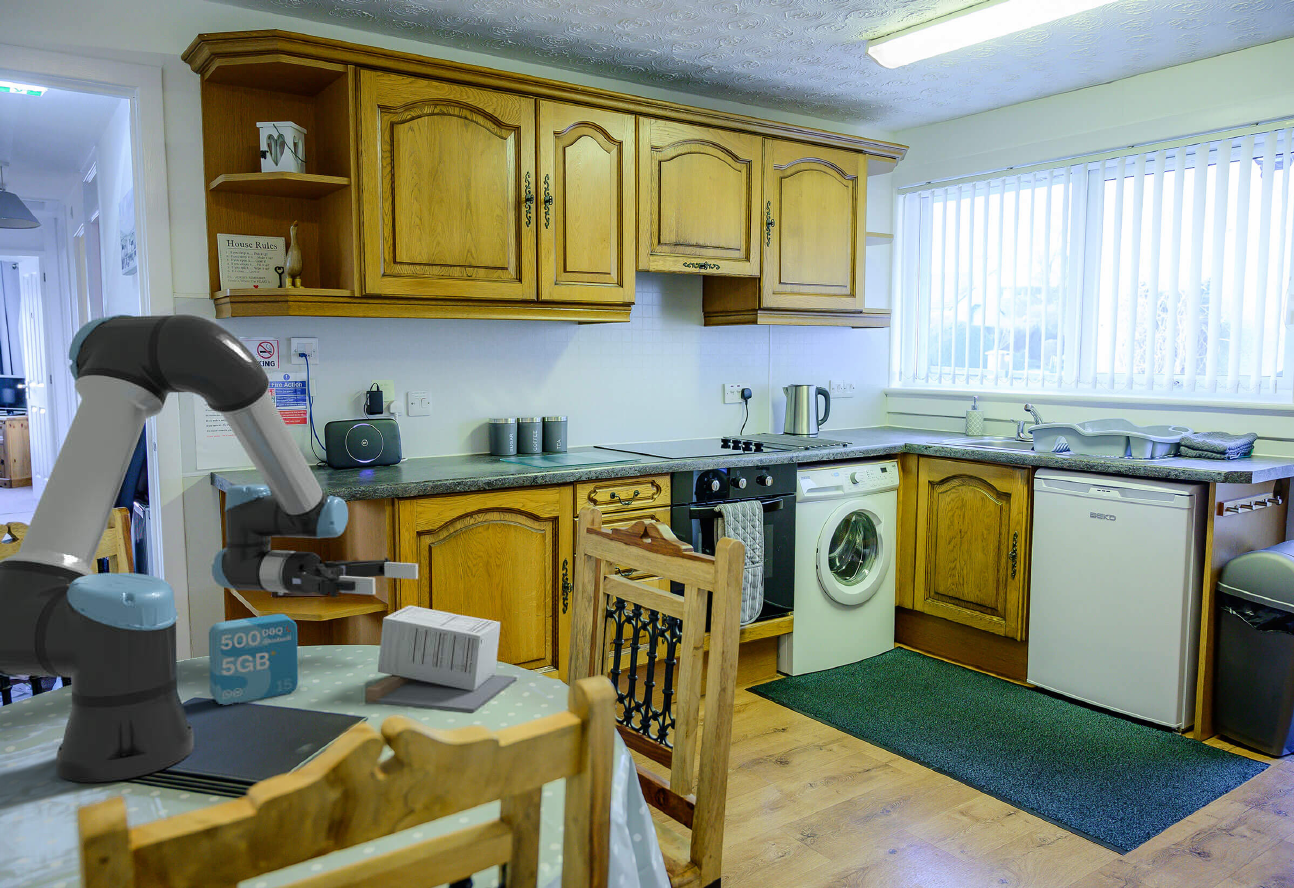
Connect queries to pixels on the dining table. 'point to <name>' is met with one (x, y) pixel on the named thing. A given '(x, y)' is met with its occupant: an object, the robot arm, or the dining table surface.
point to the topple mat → (435, 693)
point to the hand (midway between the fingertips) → (396, 578)
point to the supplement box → (439, 647)
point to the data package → (253, 658)
